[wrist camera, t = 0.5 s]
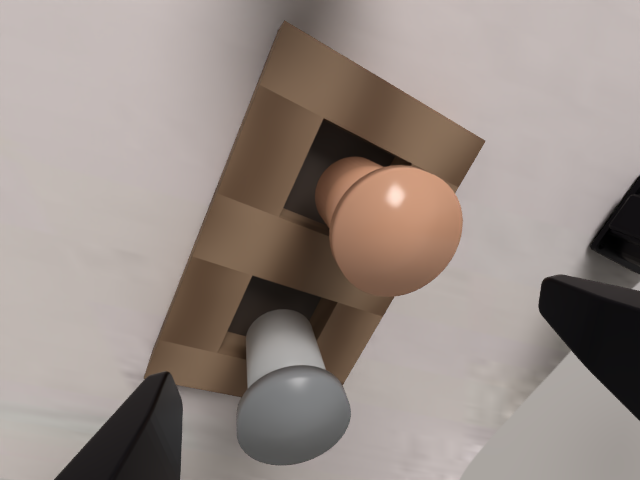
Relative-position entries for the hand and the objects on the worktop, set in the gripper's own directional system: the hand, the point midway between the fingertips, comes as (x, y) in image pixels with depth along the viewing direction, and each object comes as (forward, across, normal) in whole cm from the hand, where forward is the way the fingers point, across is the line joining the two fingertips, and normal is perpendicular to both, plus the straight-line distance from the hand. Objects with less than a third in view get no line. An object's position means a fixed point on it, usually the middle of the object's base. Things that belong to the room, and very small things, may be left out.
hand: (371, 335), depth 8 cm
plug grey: (+10, +2, +7) cm, 13 cm away
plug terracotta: (+10, -3, 0) cm, 11 cm away
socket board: (+14, 0, +4) cm, 14 cm away
